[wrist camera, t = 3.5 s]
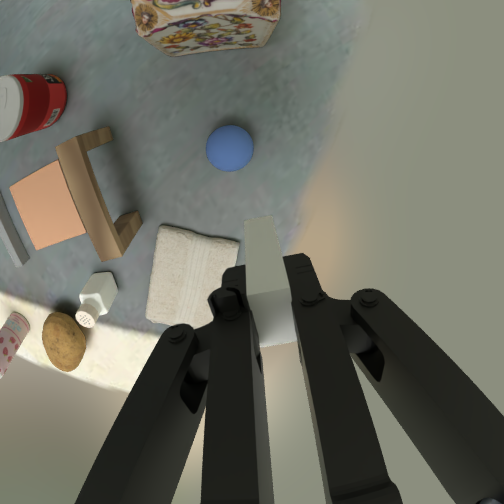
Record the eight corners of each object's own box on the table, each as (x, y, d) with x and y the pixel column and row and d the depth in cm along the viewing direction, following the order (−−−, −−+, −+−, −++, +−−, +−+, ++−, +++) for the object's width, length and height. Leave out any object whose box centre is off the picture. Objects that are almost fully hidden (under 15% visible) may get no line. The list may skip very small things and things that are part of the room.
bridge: (124, 228, 39) (101, 261, 31) (90, 134, 32) (55, 147, 24) (142, 223, 39) (122, 256, 31) (109, 126, 32) (75, 136, 24)
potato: (92, 308, 46) (76, 339, 39) (92, 354, 52) (81, 383, 45) (48, 291, 44) (29, 319, 37) (53, 339, 50) (40, 366, 43)
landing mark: (10, 186, 34) (9, 187, 33) (58, 159, 33) (57, 159, 33) (37, 249, 39) (36, 250, 39) (86, 232, 39) (86, 232, 39)
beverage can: (28, 317, 47) (-2, 368, 34) (31, 334, 49) (5, 383, 36) (9, 307, 45) (-22, 355, 32) (13, 324, 48) (-15, 371, 35)
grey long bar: (-8, 191, 33) (-16, 197, 31) (-2, 187, 33) (-11, 192, 31) (23, 260, 40) (16, 267, 38) (29, 258, 40) (22, 265, 38)
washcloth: (147, 313, 48) (143, 325, 45) (159, 219, 40) (154, 228, 37) (213, 327, 50) (212, 339, 47) (240, 238, 42) (241, 248, 39)
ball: (203, 129, 33) (197, 134, 29) (246, 119, 33) (249, 121, 28) (213, 170, 36) (210, 181, 31) (256, 160, 36) (260, 170, 31)
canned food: (70, 70, 27) (22, 68, 17) (67, 125, 31) (20, 139, 21) (30, 79, 26) (-20, 83, 17) (28, 130, 30) (-20, 146, 20)
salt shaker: (112, 270, 42) (90, 308, 34) (119, 290, 44) (101, 330, 36) (91, 272, 42) (68, 309, 34) (99, 291, 44) (79, 330, 36)
